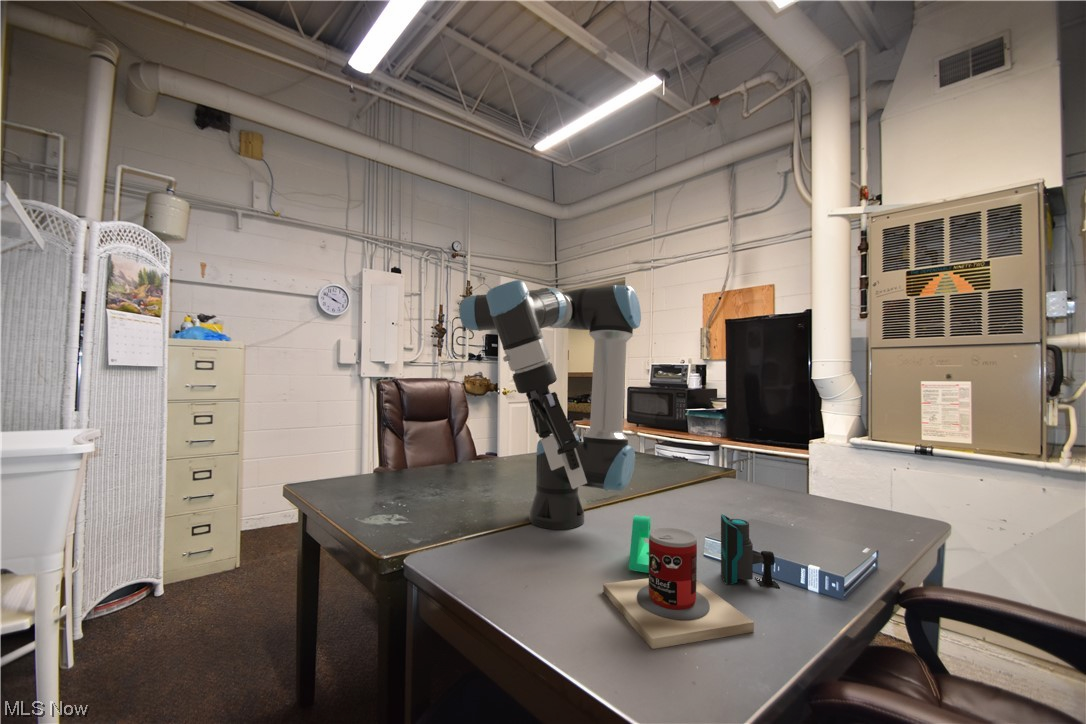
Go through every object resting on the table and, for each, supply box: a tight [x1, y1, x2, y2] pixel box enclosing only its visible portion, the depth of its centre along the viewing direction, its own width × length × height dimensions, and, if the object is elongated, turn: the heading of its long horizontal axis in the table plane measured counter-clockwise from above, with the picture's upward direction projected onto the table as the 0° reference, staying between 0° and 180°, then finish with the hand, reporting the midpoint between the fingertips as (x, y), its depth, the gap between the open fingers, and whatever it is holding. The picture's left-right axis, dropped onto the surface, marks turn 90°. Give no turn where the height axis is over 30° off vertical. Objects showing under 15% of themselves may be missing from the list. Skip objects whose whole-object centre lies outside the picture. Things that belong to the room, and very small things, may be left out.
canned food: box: [648, 527, 698, 610], centre depth 78 cm, size 8×8×11 cm
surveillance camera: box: [720, 514, 781, 589], centre depth 90 cm, size 6×12×10 cm
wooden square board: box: [602, 577, 755, 650], centre depth 78 cm, size 18×18×2 cm
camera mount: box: [628, 514, 652, 574], centre depth 96 cm, size 12×8×10 cm, turn 160°
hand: (567, 476), depth 83 cm, fingers open, 13 cm apart
